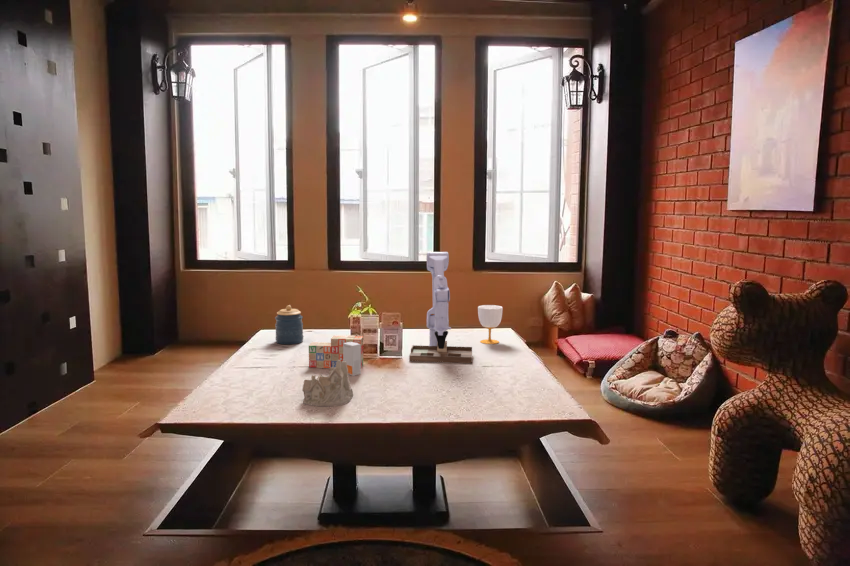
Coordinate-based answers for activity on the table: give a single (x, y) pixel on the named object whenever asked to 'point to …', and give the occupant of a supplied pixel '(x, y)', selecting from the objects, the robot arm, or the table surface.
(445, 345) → the maple block
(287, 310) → the canister
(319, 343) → the stack of blocks
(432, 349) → the trap box
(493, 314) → the cup
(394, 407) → the table surface
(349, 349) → the skincare box
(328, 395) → the ceramic cottage
